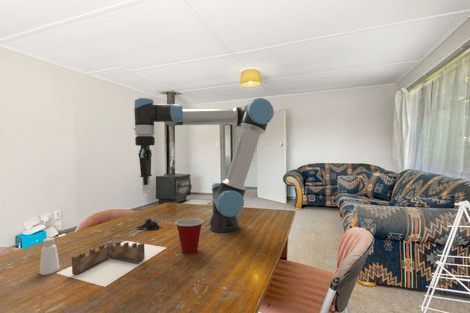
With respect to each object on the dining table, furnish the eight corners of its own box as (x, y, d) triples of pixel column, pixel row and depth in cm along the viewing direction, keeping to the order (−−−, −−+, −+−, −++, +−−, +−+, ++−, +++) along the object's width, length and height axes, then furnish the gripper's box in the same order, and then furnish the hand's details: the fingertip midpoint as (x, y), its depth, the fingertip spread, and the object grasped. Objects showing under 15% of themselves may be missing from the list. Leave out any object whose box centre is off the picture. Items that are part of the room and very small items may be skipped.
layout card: (166, 248, 92) (166, 247, 92) (104, 288, 66) (104, 286, 66) (125, 241, 100) (125, 240, 100) (56, 274, 74) (56, 272, 74)
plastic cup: (208, 246, 93) (207, 217, 93) (195, 258, 83) (194, 226, 83) (185, 243, 97) (184, 215, 96) (170, 254, 86) (169, 223, 86)
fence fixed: (75, 274, 72) (74, 257, 72) (72, 274, 73) (71, 256, 73) (108, 257, 83) (108, 242, 83) (105, 257, 84) (105, 242, 84)
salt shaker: (64, 267, 79) (62, 235, 78) (52, 275, 73) (50, 241, 73) (48, 267, 78) (46, 236, 78) (34, 276, 73) (33, 242, 73)
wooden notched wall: (106, 256, 84) (105, 242, 84) (110, 254, 86) (109, 239, 86) (141, 261, 80) (141, 245, 80) (145, 258, 82) (144, 243, 82)
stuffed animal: (162, 222, 124) (159, 214, 114) (160, 241, 118) (157, 234, 109) (139, 223, 122) (134, 216, 112) (136, 242, 116) (131, 236, 107)
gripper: (139, 137, 101) (141, 190, 101) (130, 135, 88) (132, 195, 88) (157, 136, 102) (158, 189, 102) (151, 134, 89) (152, 194, 90)
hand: (146, 192), depth 95 cm, fingers closed
